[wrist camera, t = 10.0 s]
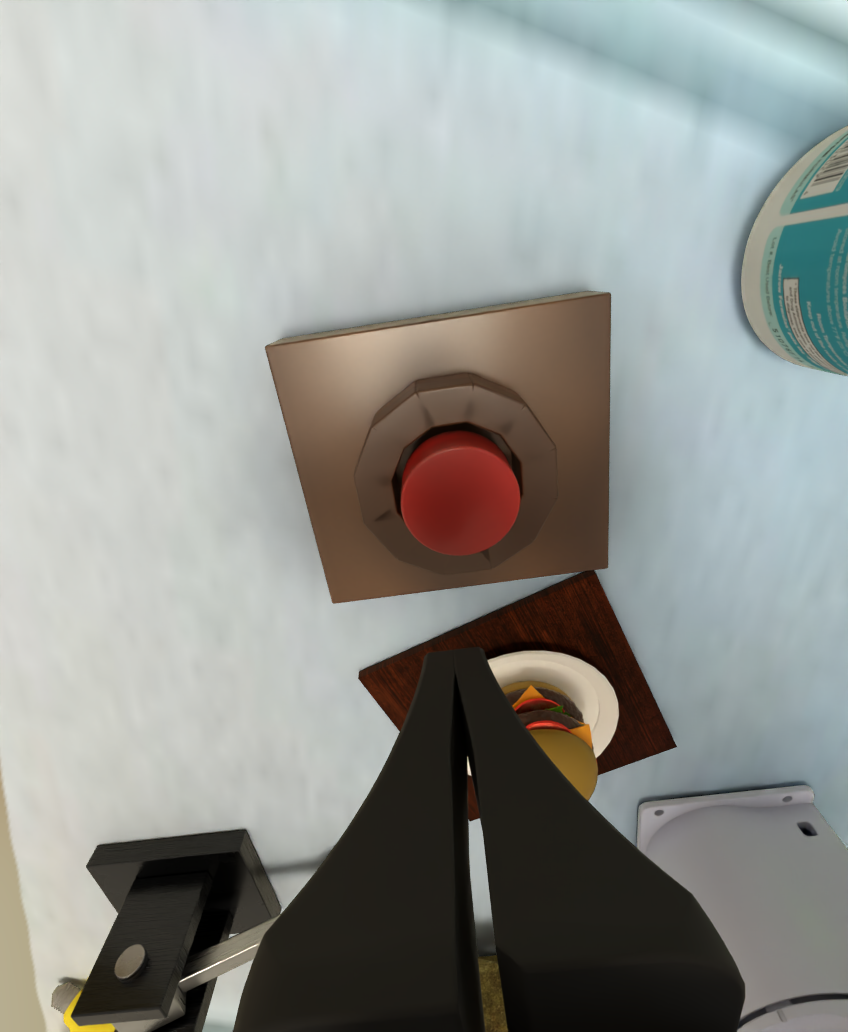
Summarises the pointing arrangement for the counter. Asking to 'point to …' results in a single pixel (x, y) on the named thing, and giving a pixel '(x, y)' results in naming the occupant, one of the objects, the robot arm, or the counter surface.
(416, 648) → the hamburger
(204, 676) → the counter surface
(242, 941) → the lever
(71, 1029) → the light bulb
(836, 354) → the pill bottle
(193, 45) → the counter surface
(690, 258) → the counter surface
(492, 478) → the button
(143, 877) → the bracket
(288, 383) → the button block
